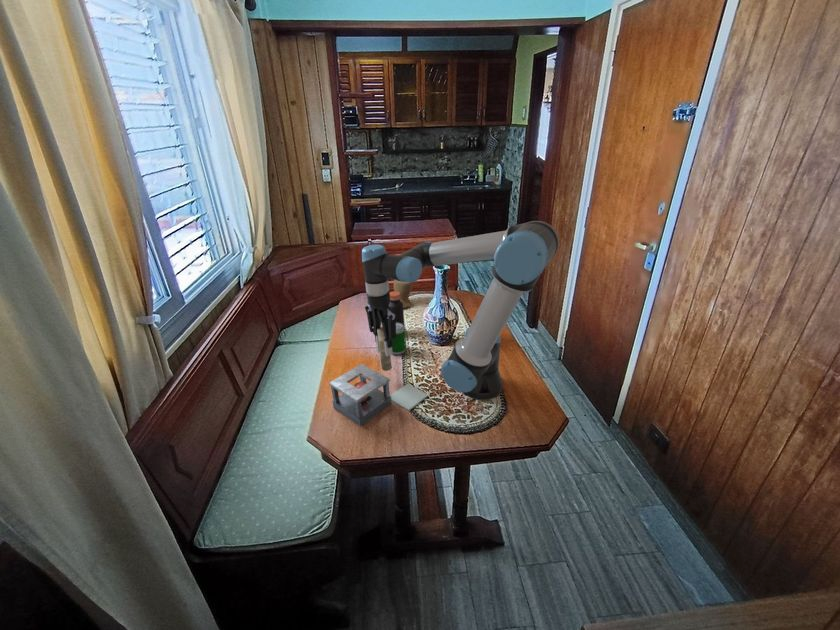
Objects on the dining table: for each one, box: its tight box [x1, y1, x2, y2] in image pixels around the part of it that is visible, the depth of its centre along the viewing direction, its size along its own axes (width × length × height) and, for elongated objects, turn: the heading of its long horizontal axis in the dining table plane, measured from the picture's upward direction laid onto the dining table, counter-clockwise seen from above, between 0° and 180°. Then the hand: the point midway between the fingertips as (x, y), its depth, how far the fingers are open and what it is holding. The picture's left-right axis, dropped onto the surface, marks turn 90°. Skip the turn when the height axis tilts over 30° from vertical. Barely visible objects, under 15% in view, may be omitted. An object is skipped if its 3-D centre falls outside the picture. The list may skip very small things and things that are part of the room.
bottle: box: [389, 290, 405, 326], centre depth 169 cm, size 7×7×20 cm
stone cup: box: [393, 279, 414, 309], centre depth 199 cm, size 15×12×15 cm
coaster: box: [390, 383, 429, 412], centre depth 134 cm, size 10×10×1 cm
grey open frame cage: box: [328, 363, 393, 427], centre depth 129 cm, size 14×14×10 cm
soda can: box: [391, 323, 407, 356], centre depth 159 cm, size 8×8×12 cm
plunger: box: [353, 381, 368, 403], centre depth 129 cm, size 4×4×5 cm
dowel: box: [377, 326, 393, 372], centre depth 137 cm, size 4×4×16 cm
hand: (384, 352), depth 138 cm, fingers closed on dowel, 3 cm apart
